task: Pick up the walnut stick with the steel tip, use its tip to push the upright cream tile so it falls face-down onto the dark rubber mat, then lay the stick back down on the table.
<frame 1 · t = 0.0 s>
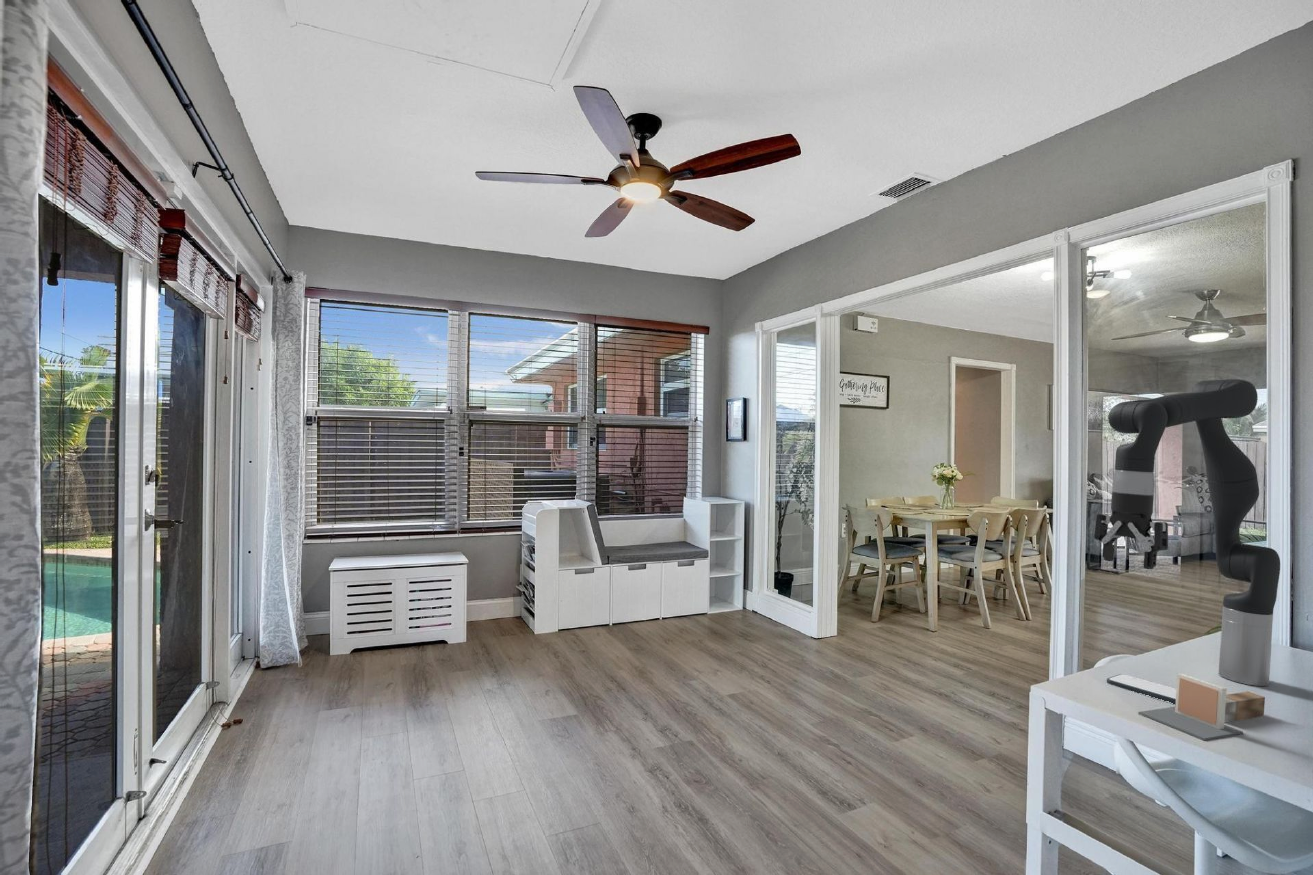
hand: (1128, 564, 145), 29 cm above the table, tool pointing down, fingers open, 8 cm apart
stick: (1235, 716, 138), on the table
mat: (1189, 723, 132), on the table
tile: (1198, 719, 133), resting on mat
phone case: (1152, 694, 149), on the table
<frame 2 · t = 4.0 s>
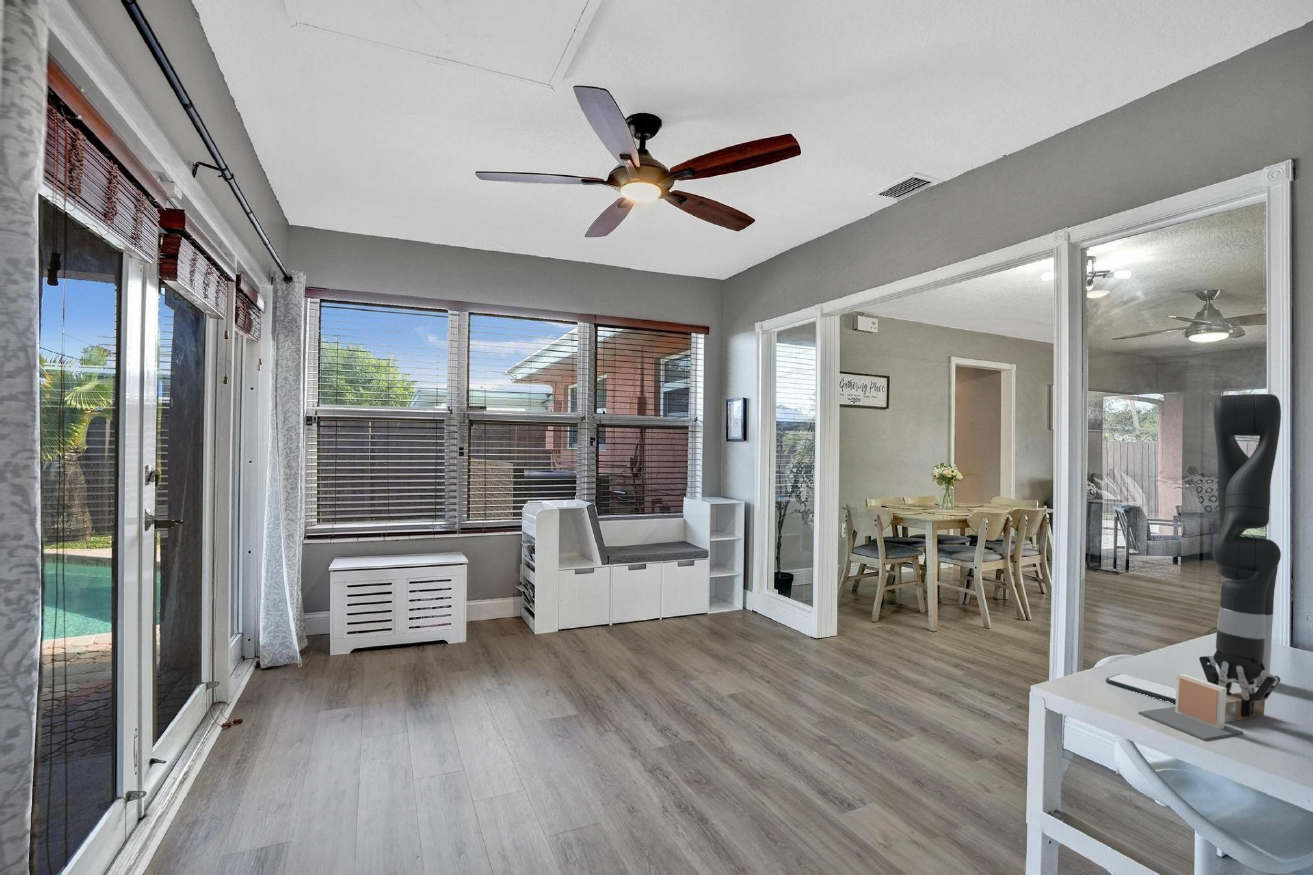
hand: (1235, 712, 138), 1 cm above the table, tool pointing down, fingers closed on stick, 3 cm apart
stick: (1235, 715, 138), on the table, touching gripper
everything else where it was.
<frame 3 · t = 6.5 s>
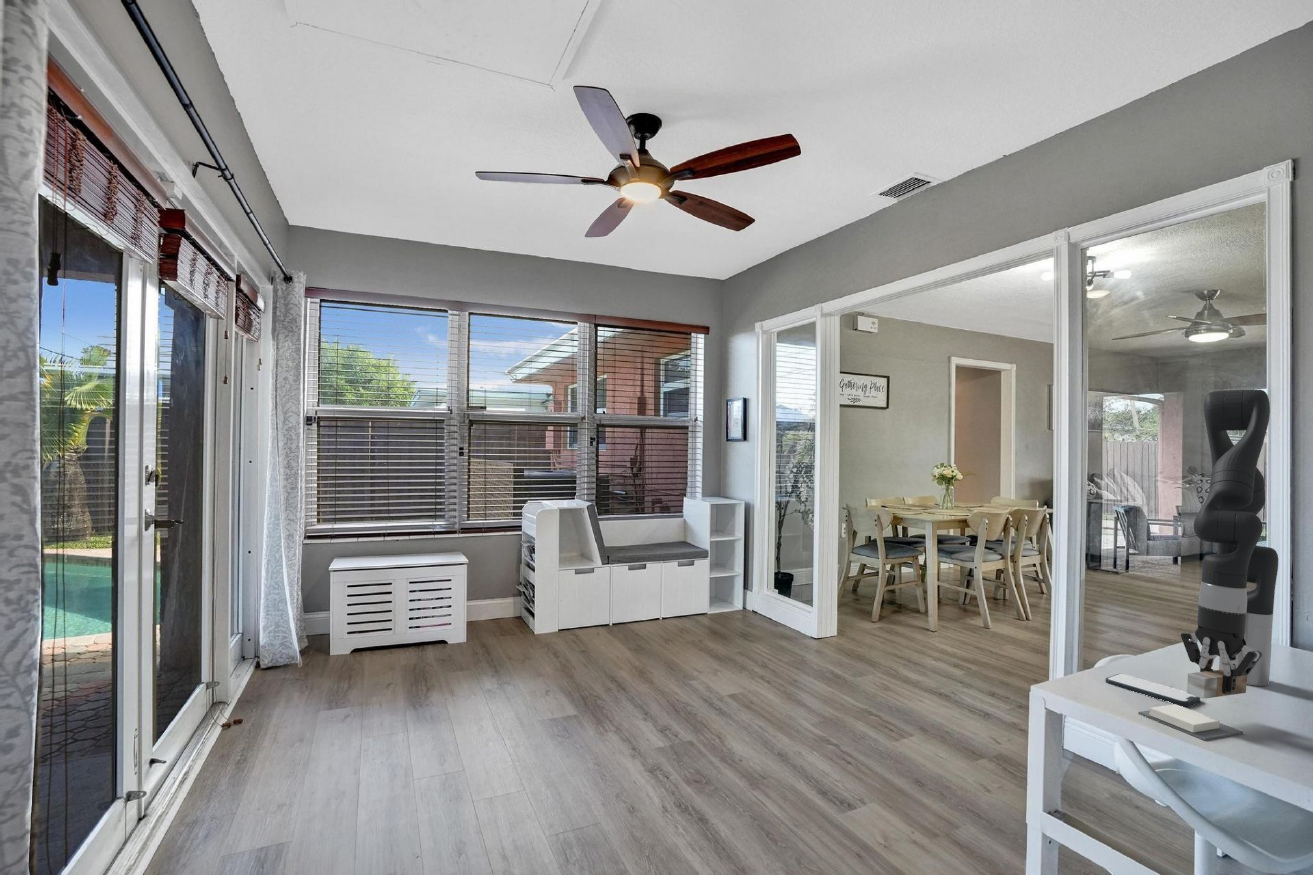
hand: (1216, 689, 135), 6 cm above the table, tool pointing down, fingers closed on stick, 3 cm apart
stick: (1216, 692, 135), point 6 cm above the table, touching gripper
tile: (1196, 715, 133), point 1 cm above the table, tilted 90°, touching mat
everything else where it was.
when the fingers open (2 cm above the table, at t = 9.8 s): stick drops 1 cm, on the table.
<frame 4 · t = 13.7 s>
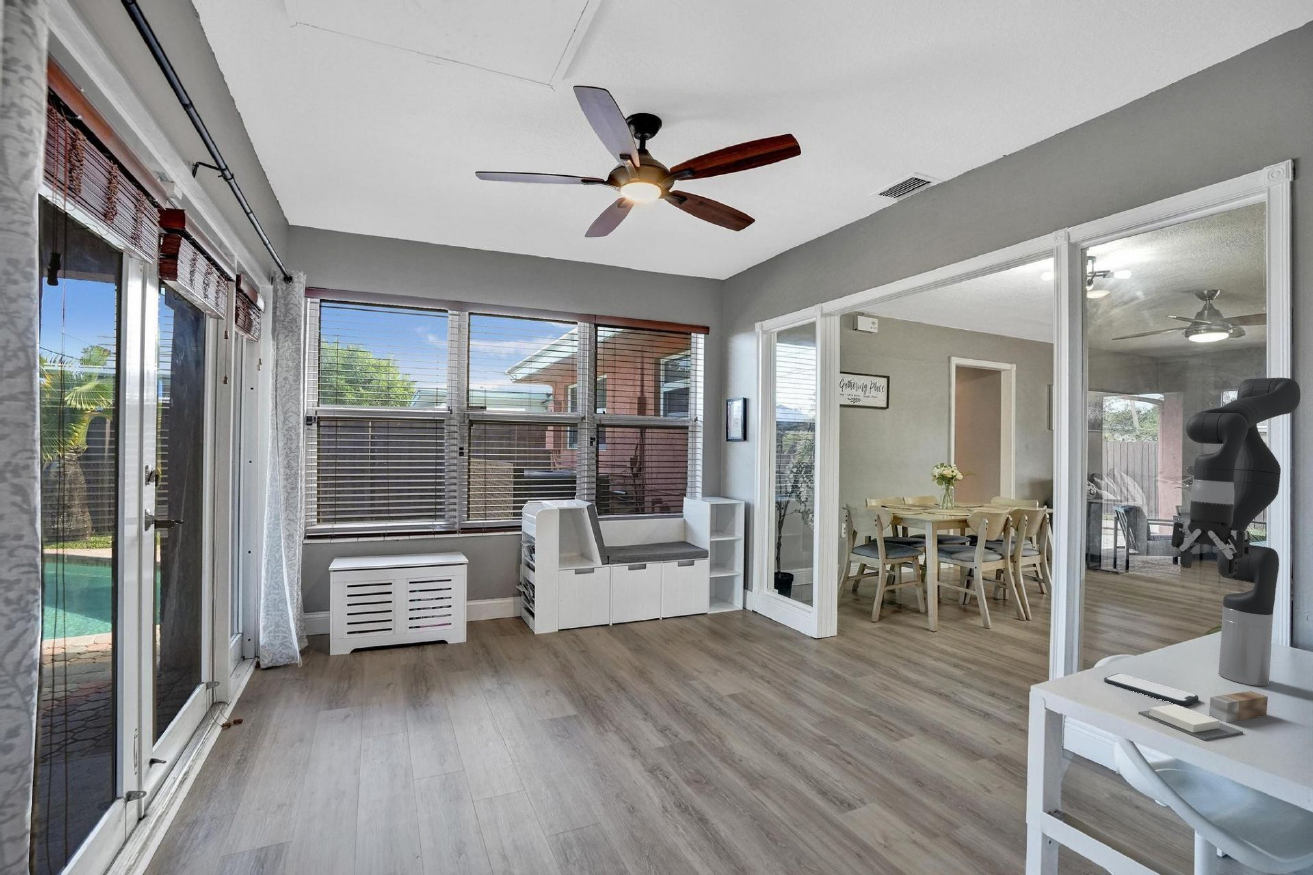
hand: (1207, 571, 149), 28 cm above the table, tool pointing down, fingers open, 8 cm apart
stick: (1238, 715, 138), on the table
everything else where it was.
at the end: tile tilted 90°; tile touching mat; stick touching table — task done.
